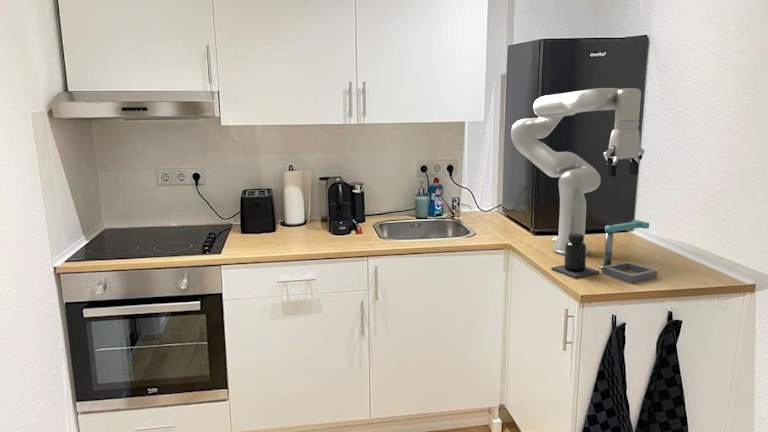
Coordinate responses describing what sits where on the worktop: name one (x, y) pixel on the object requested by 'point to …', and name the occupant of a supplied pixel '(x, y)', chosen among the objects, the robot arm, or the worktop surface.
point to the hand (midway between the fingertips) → (622, 175)
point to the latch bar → (626, 226)
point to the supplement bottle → (575, 253)
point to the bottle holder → (617, 272)
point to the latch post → (608, 250)
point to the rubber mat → (575, 275)
